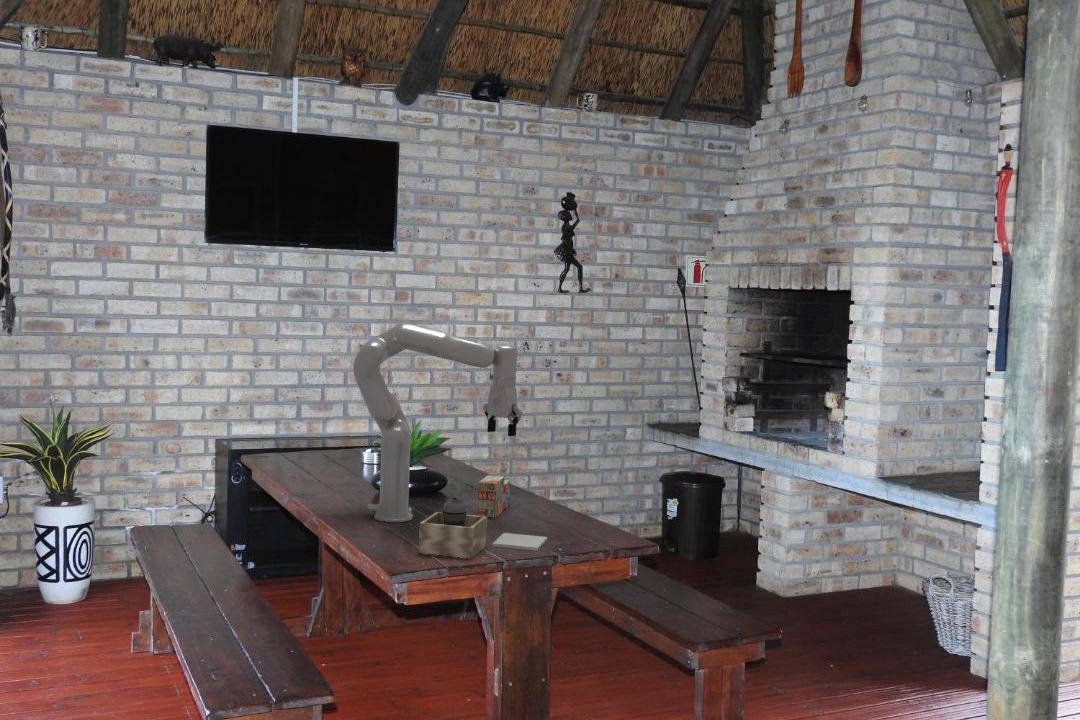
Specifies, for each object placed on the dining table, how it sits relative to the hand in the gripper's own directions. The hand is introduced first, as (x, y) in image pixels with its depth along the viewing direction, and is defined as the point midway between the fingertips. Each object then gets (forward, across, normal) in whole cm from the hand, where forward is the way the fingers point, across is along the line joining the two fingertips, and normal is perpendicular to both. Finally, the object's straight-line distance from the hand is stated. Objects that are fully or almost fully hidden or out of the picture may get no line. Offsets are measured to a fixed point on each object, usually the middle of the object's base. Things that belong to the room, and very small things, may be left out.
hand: (501, 433), depth 359 cm
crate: (+30, +19, -37) cm, 51 cm away
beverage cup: (+30, +19, -37) cm, 51 cm away
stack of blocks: (+30, -11, +9) cm, 33 cm away
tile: (+29, +26, -15) cm, 42 cm away
